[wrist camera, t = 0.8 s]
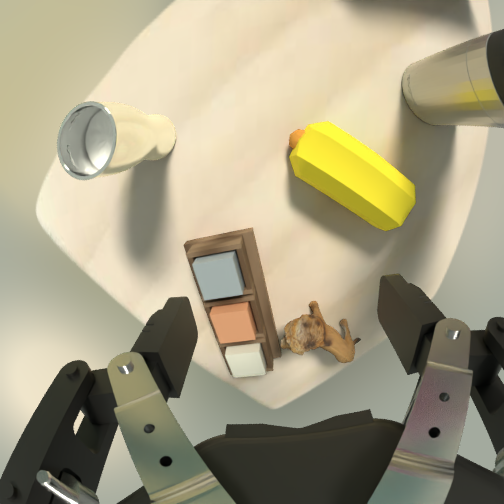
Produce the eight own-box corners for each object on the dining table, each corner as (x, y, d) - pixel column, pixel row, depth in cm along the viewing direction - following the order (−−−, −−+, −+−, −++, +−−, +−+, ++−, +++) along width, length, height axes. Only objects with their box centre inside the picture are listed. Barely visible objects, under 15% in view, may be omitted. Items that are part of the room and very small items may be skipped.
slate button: (235, 247, 33) (232, 257, 30) (244, 283, 35) (242, 294, 32) (197, 255, 34) (192, 264, 31) (208, 288, 35) (204, 300, 33)
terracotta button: (248, 297, 35) (247, 309, 33) (256, 326, 37) (255, 339, 35) (213, 302, 36) (209, 315, 34) (223, 330, 38) (220, 343, 35)
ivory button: (260, 338, 38) (259, 351, 35) (266, 361, 40) (265, 374, 37) (227, 342, 39) (224, 355, 36) (235, 364, 40) (233, 377, 38)
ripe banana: (304, 109, 29) (272, 162, 32) (312, 101, 23) (273, 166, 26) (415, 188, 32) (386, 234, 35) (441, 199, 26) (406, 253, 28)
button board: (252, 227, 35) (250, 239, 31) (280, 350, 43) (281, 370, 39) (186, 241, 36) (176, 254, 32) (227, 357, 44) (223, 376, 40)
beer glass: (176, 105, 30) (113, 86, 16) (183, 158, 32) (125, 172, 18) (127, 118, 30) (51, 115, 17) (135, 168, 33) (62, 190, 19)
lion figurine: (274, 315, 40) (274, 357, 32) (292, 288, 38) (297, 328, 30) (350, 347, 42) (362, 387, 34) (370, 324, 40) (387, 363, 32)
